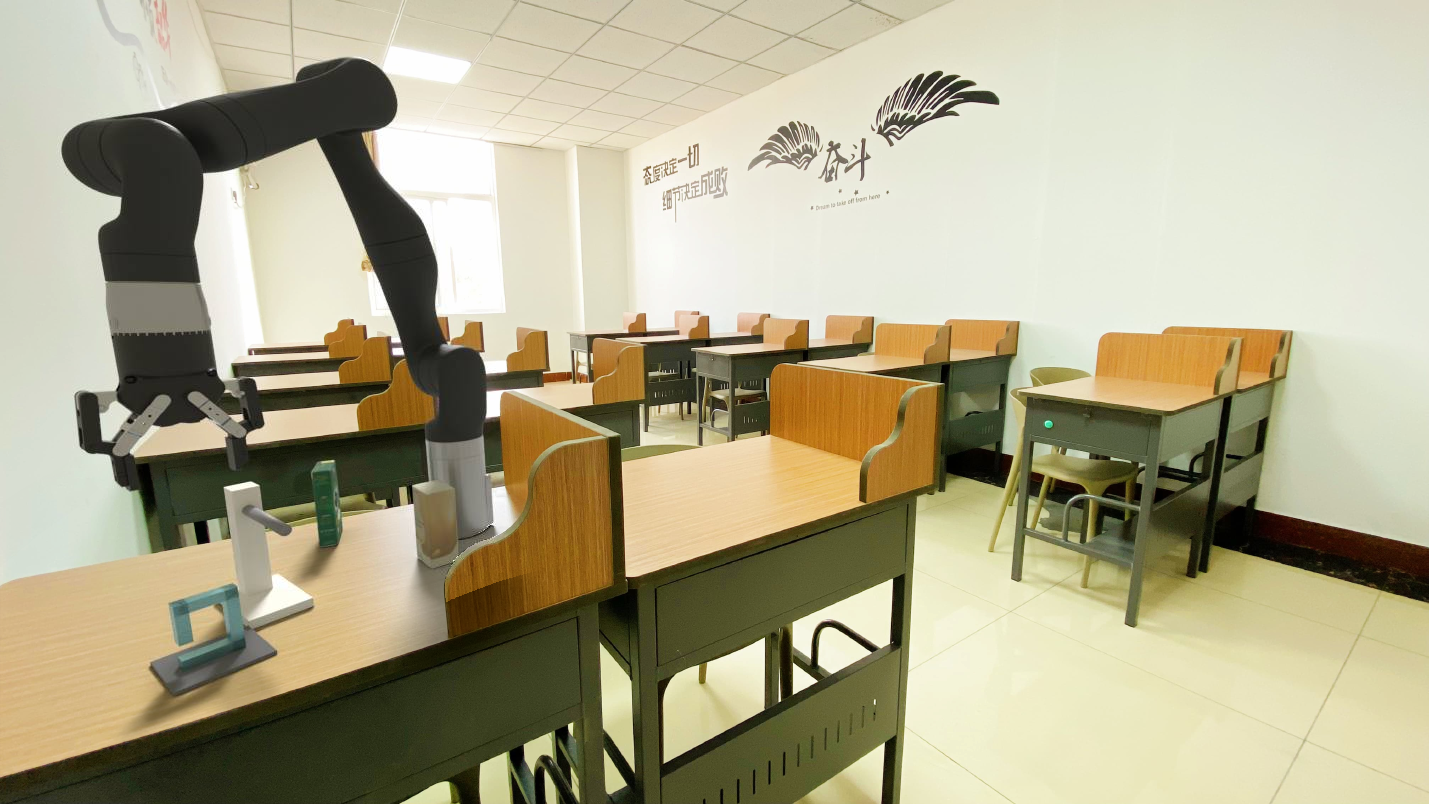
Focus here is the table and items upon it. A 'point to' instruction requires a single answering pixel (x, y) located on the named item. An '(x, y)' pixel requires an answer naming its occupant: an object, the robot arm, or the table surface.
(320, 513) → the coffee box
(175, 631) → the c link
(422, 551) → the skincare box
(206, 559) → the table surface
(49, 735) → the table surface
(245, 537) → the stand
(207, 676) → the pad
